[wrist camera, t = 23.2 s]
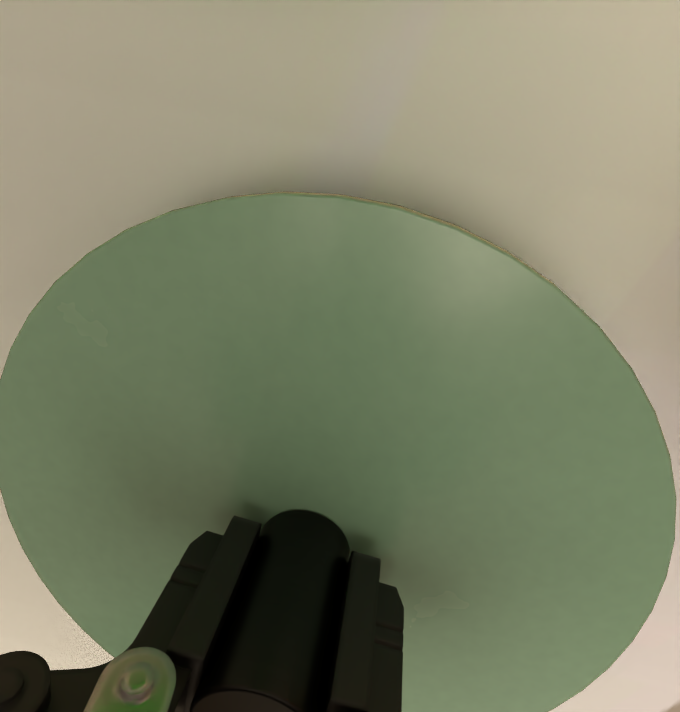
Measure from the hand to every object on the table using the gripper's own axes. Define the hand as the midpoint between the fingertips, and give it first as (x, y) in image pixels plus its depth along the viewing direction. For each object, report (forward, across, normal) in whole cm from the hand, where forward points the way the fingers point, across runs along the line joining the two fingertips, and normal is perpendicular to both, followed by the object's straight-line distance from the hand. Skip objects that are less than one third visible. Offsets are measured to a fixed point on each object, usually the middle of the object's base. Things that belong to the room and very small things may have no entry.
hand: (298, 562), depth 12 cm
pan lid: (+1, 0, 0) cm, 1 cm away
